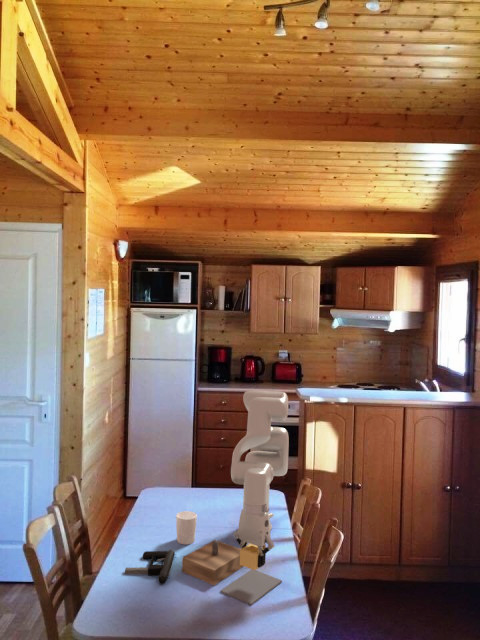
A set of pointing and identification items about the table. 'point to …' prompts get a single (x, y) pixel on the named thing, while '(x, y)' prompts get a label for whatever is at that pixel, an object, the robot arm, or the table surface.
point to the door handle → (155, 570)
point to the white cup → (186, 527)
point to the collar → (249, 556)
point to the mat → (251, 587)
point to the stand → (212, 562)
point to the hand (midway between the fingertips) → (252, 562)
